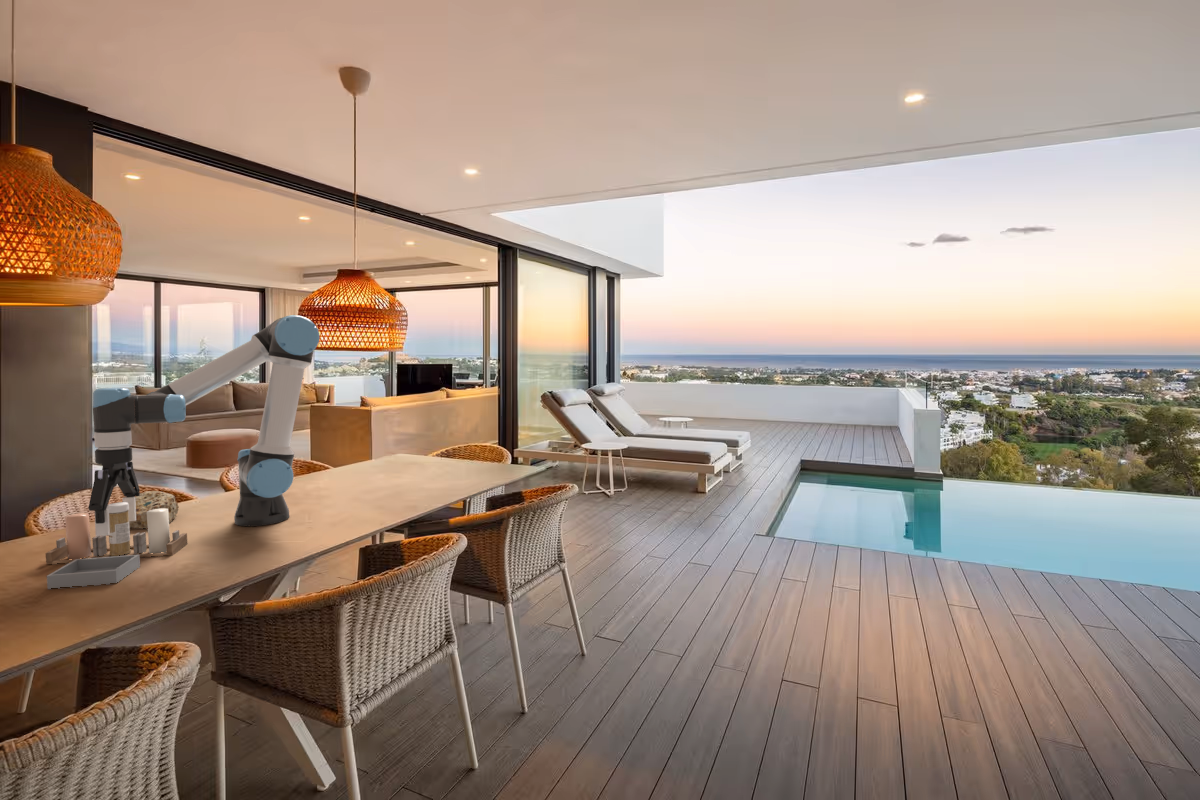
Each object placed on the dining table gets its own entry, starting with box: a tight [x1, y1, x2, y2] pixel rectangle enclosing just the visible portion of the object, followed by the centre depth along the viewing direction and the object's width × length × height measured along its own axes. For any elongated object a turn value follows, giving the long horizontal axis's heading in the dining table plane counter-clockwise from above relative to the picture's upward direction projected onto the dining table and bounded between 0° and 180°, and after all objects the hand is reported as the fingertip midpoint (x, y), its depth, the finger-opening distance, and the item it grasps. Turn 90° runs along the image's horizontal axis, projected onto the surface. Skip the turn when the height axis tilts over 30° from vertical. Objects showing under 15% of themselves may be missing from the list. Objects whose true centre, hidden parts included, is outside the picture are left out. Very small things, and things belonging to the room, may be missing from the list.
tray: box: [46, 554, 141, 590], centre depth 141 cm, size 13×11×3 cm
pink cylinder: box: [64, 512, 93, 560], centre depth 155 cm, size 5×5×11 cm
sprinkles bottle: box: [106, 501, 132, 557], centre depth 158 cm, size 5×5×14 cm
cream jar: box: [147, 508, 171, 554], centre depth 160 cm, size 5×5×11 cm
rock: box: [129, 490, 180, 529], centre depth 188 cm, size 21×14×10 cm
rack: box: [45, 529, 188, 565], centre depth 158 cm, size 27×10×5 cm, turn 105°
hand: (116, 527), depth 157 cm, fingers open, 13 cm apart
